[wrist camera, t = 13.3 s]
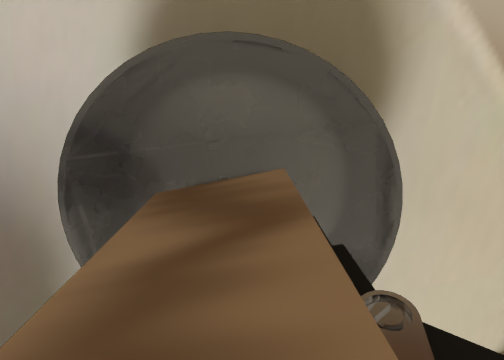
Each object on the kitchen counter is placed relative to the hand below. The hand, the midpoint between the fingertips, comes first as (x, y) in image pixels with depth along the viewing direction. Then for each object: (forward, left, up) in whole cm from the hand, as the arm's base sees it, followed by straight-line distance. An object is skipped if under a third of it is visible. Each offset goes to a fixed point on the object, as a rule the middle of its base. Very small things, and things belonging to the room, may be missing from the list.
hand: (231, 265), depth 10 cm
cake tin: (0, 0, -11) cm, 11 cm away
